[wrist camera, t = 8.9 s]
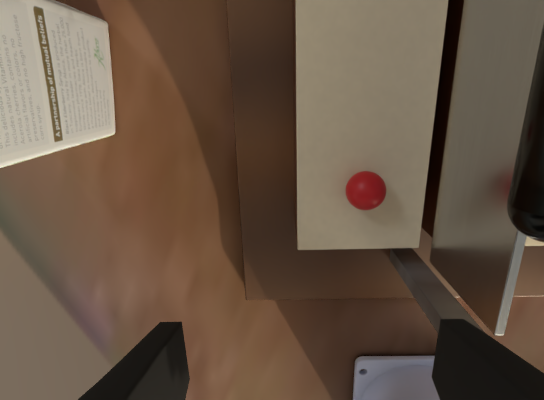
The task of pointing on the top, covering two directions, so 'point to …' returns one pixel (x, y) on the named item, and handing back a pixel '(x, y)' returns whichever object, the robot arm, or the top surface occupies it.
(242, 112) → the cutting board
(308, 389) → the top surface
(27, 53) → the syrup box
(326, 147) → the cake
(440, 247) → the cleaver knife
